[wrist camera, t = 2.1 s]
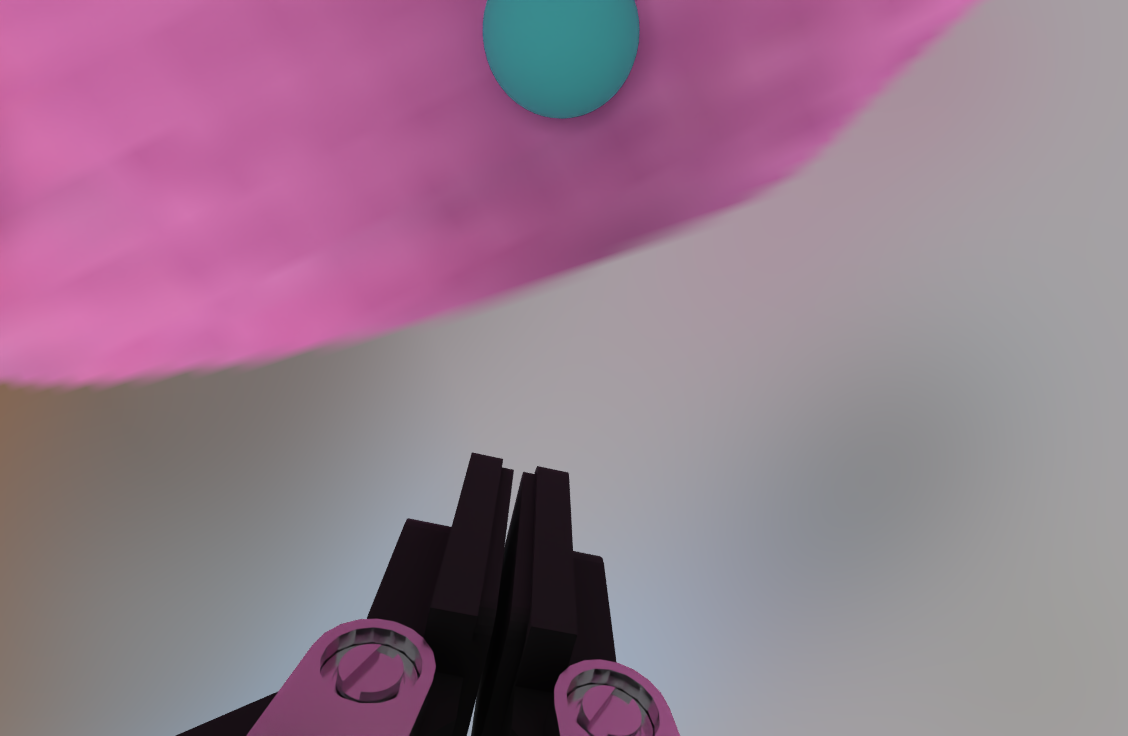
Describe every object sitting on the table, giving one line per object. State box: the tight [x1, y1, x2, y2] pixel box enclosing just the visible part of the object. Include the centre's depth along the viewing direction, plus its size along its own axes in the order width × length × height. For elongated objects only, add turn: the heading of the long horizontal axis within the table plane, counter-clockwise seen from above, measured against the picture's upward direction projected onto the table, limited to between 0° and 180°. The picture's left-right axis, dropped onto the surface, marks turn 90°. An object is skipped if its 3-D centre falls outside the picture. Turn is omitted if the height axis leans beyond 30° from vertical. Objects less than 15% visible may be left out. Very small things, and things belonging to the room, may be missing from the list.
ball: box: [483, 0, 639, 119], centre depth 21 cm, size 5×5×5 cm
